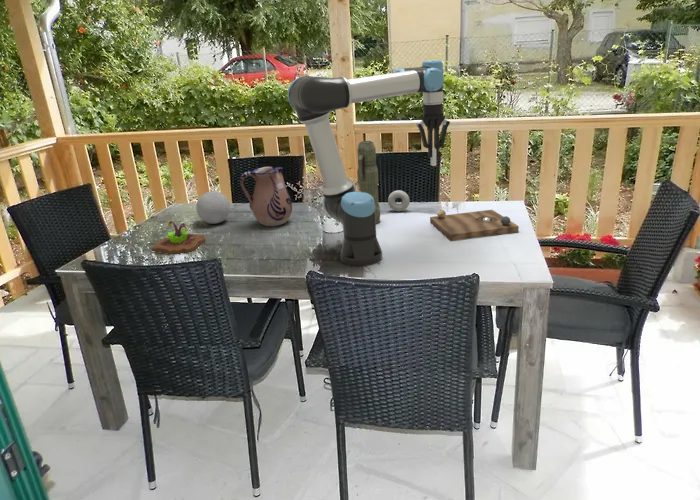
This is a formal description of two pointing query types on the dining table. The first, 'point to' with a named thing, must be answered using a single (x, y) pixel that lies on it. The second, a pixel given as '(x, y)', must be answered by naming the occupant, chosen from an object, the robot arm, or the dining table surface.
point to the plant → (179, 241)
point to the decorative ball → (213, 207)
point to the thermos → (368, 173)
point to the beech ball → (441, 213)
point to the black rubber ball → (505, 220)
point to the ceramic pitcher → (269, 196)
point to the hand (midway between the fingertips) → (433, 165)
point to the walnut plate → (472, 225)
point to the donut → (398, 194)
